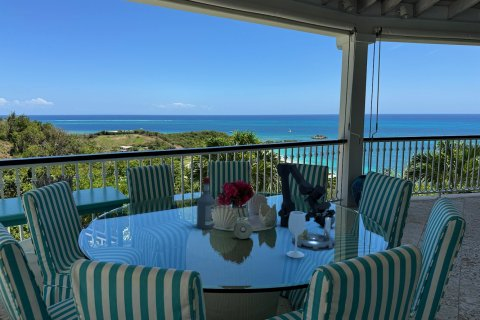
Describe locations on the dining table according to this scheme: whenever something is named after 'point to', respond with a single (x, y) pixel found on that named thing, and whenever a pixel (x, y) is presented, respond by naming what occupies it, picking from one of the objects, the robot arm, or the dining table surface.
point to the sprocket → (317, 238)
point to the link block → (303, 234)
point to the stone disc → (243, 234)
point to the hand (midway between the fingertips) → (326, 228)
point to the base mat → (315, 249)
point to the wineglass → (296, 230)
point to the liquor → (205, 207)
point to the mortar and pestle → (331, 220)
